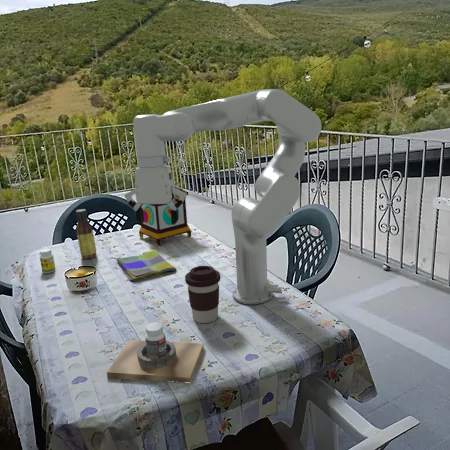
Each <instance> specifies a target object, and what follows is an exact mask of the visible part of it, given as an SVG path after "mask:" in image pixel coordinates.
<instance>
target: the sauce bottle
mask: <svg viewBox="0 0 450 450" xmlns="http://www.w3.org/2000/svg"><path fill="white" fill-rule="evenodd" d="M87 213H88V211H87V209H85V208H82V209H81V208H80V209H76V210H75V214H76V216H77V217H76V218H77V225H76V226H75V229H76V237H77V242H78V246H79V252H80V255H81V258H82V259H84V260H90V259H94V258H95V257H97V254H98V253H97V247H96V243H95V237H94V230H93V229H94V228H93V227H92V225H91V223H90V221H89V219H88V215H87Z"/></svg>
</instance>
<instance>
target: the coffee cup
mask: <svg viewBox="0 0 450 450" xmlns="http://www.w3.org/2000/svg"><path fill="white" fill-rule="evenodd" d="M184 279H185V280H184V282H185V284H187V292H188V293H187V294H188V298H189V304H190V308H191V313H192V318H193V320H194V321H195V322H197V323H198V324H209V323H210V324H211V323H212V322H214V321H216V320H217V319H218V317H219V304H220V284H219V282H220V281H221V273H220V271H218V270H216V269H215V268H214V267H213V266H210V265H197V266H194V267H192V268H191V269H190V270H189V271H188V272H187V273H186V274H185V276H184Z"/></svg>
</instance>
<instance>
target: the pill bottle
mask: <svg viewBox="0 0 450 450" xmlns="http://www.w3.org/2000/svg"><path fill="white" fill-rule="evenodd" d="M145 333H146V334H145V337H144V338H145V341H146V347H147V356H148V358H151V359H157V358H161V357H164V356H165V355H167V348H166V341H167V340H166V333H165V331H164V327H163V324H162V323H160V322H156V321H155V322H151V323H149V324H147V325H146V327H145Z"/></svg>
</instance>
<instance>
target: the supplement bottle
mask: <svg viewBox="0 0 450 450" xmlns="http://www.w3.org/2000/svg"><path fill="white" fill-rule="evenodd" d="M39 255H40V256H39V261H40V265H41V266H40V267H41V271H42V273H43V274H49V273H50V274H51V273H52V272H55V271H56V266H55V259H54V254H53V251H52V249H51V248H43V249H41V250H39Z"/></svg>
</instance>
